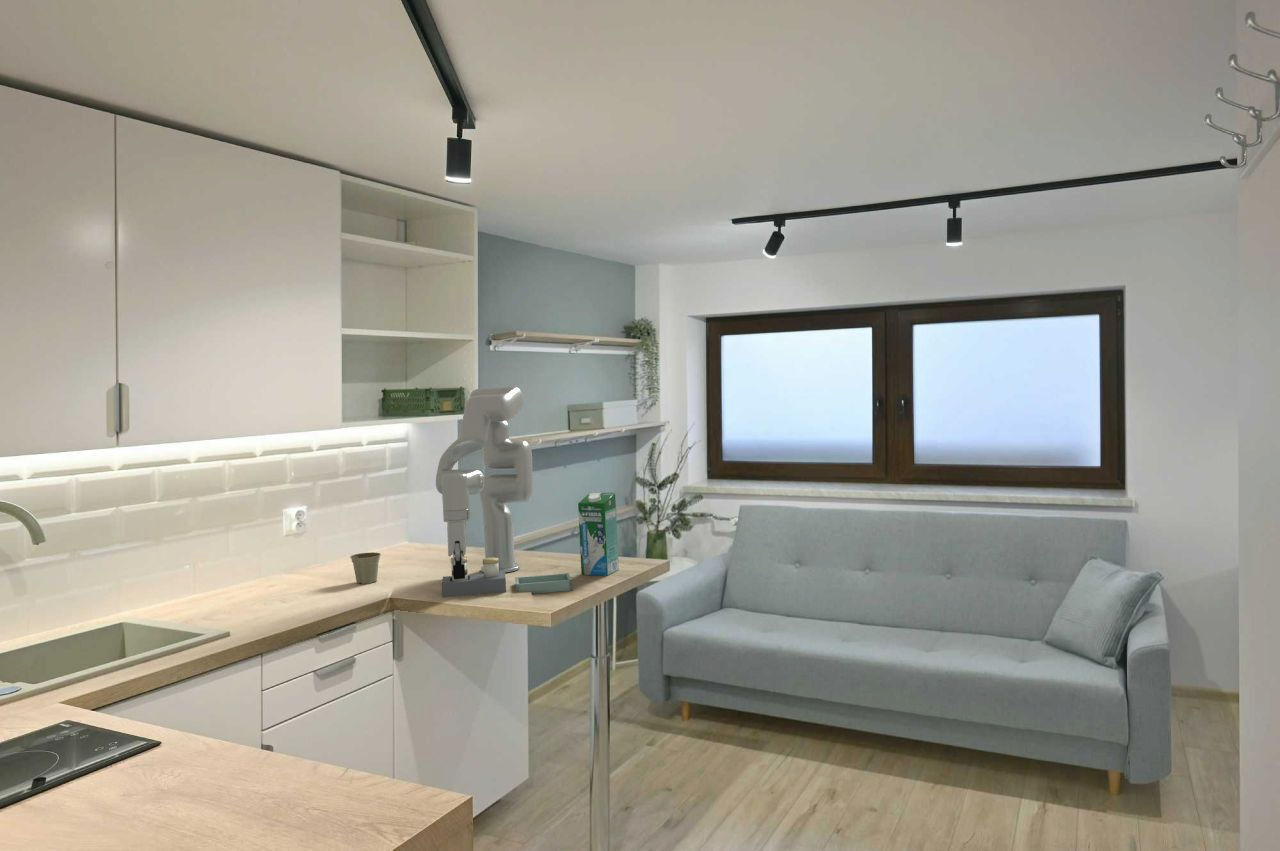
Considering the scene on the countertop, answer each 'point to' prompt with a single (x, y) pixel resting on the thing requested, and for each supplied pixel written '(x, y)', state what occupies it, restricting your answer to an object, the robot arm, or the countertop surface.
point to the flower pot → (366, 567)
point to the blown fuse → (465, 569)
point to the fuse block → (477, 581)
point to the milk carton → (598, 534)
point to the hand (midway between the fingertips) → (459, 575)
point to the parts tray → (544, 583)
